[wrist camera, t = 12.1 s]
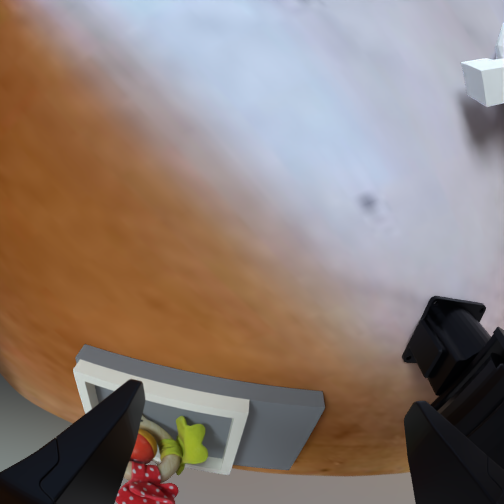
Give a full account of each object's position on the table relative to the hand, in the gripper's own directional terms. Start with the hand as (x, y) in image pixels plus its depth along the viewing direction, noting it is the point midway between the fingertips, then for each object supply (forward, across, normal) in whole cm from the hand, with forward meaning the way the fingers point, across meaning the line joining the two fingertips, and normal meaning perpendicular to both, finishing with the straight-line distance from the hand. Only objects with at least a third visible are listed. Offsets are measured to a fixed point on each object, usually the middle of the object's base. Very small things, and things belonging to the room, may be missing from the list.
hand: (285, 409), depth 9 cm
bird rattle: (+11, +8, +18) cm, 23 cm away
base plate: (+13, +5, +18) cm, 23 cm away
